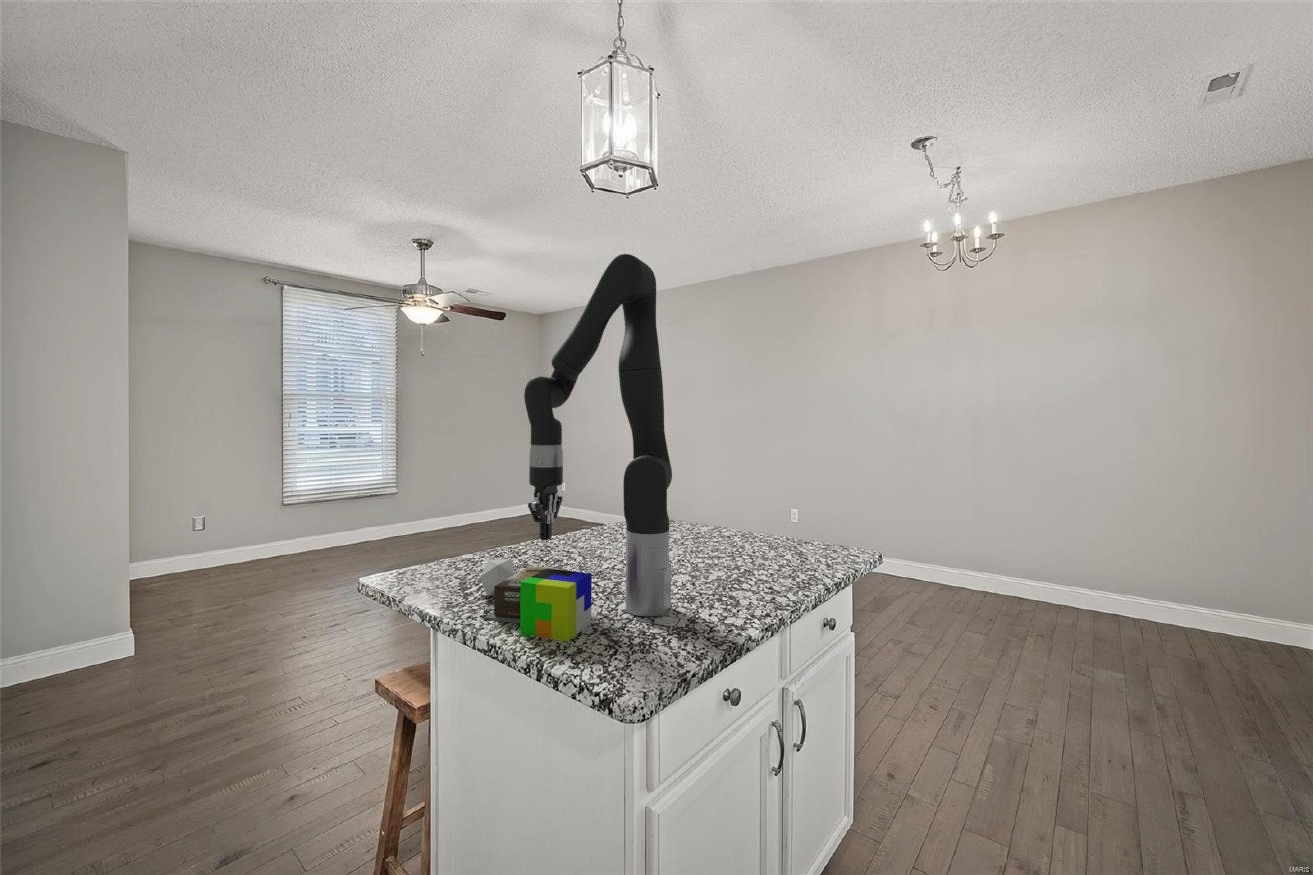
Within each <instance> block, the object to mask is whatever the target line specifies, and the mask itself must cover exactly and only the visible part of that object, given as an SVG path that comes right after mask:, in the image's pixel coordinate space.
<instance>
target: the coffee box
mask: <svg viewBox="0 0 1313 875" xmlns="http://www.w3.org/2000/svg"><path fill="white" fill-rule="evenodd" d="M546 569H557V570H565V571H566V568H559V567H547V566H538V565H537V566H536V565H535V566H534V565H528V566H527V567H525V568H523V569H522V570H520V571H518V572H516V574H515V575H513V576H511V577H510V578H508V579H506V580H504V581H503V582H501V583H499V584H497V585H496V586H495V587H494V596H493V597H494V608H493V611H494V615H495V616H504V617H513V618H520V591H521V582H522V581H524V580H526V579H528V578H530V577H532V576H534V575H536V574H538V573H540V572H542V571H544V570H546Z"/></svg>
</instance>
